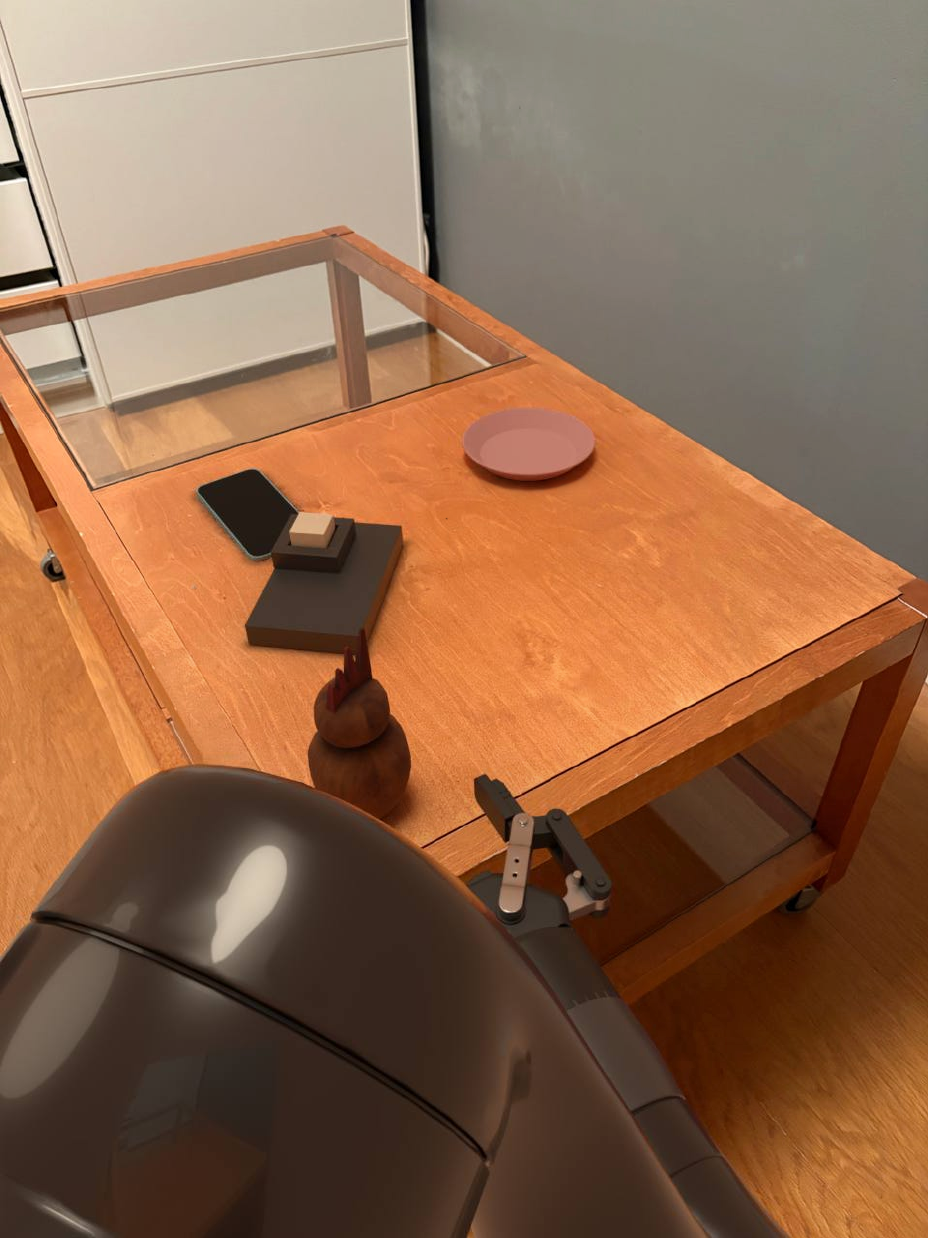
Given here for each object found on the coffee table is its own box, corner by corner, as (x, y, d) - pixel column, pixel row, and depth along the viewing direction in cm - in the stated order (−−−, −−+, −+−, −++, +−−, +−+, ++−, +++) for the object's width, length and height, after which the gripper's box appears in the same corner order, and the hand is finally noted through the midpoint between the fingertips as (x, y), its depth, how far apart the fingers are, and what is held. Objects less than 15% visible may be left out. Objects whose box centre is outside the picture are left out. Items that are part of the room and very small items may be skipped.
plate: (608, 483, 98) (609, 466, 97) (472, 496, 97) (471, 479, 96) (577, 417, 109) (578, 401, 108) (455, 428, 108) (454, 412, 107)
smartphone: (252, 560, 89) (192, 487, 98) (254, 569, 90) (194, 496, 99) (320, 534, 92) (256, 465, 101) (322, 542, 93) (257, 474, 102)
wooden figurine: (386, 756, 71) (367, 600, 61) (427, 807, 67) (413, 649, 57) (304, 797, 68) (271, 640, 58) (342, 852, 64) (313, 695, 54)
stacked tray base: (248, 644, 81) (239, 608, 78) (303, 536, 93) (297, 502, 90) (362, 655, 79) (357, 619, 77) (403, 544, 91) (400, 509, 89)
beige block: (291, 547, 85) (288, 531, 84) (302, 527, 87) (299, 511, 86) (326, 550, 85) (323, 534, 83) (335, 529, 87) (333, 514, 86)
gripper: (697, 946, 44) (520, 723, 55) (422, 1097, 39) (288, 820, 50) (678, 1024, 49) (519, 805, 60) (431, 1168, 44) (307, 901, 55)
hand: (414, 812), depth 55 cm, fingers open, 8 cm apart
